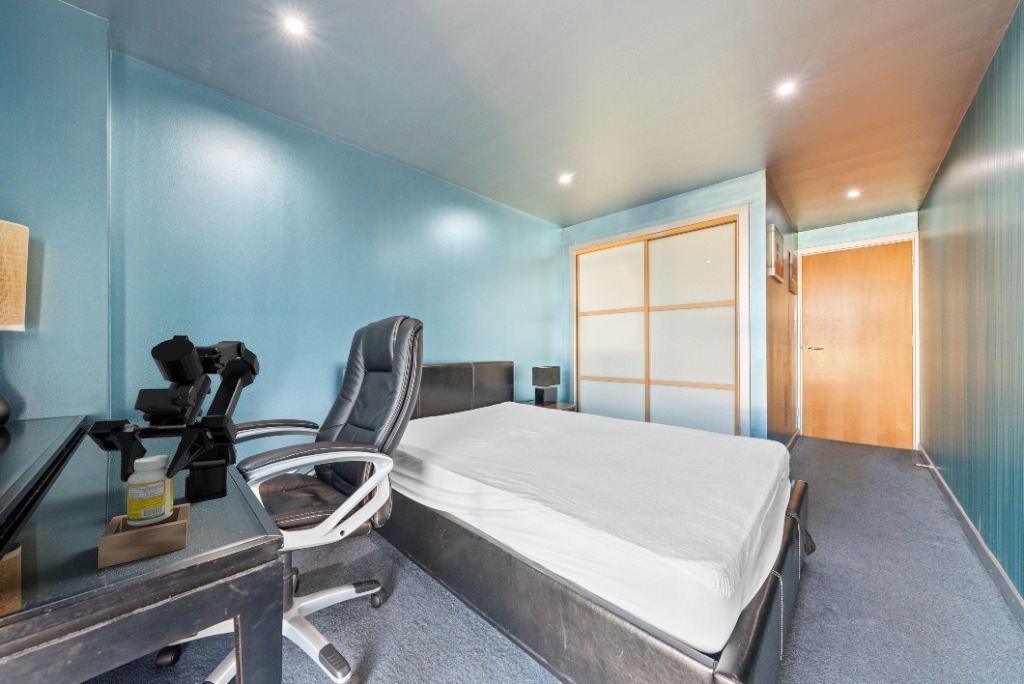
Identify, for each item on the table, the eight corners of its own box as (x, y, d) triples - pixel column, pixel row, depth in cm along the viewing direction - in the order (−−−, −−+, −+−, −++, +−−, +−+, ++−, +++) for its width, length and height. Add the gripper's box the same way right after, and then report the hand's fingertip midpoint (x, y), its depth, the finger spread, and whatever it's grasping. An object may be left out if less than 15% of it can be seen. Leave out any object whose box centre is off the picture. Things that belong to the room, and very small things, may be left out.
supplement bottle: (151, 527, 58) (152, 463, 58) (116, 527, 58) (116, 463, 58) (182, 511, 63) (182, 453, 63) (150, 511, 63) (150, 453, 63)
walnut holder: (189, 525, 66) (190, 502, 67) (185, 547, 59) (186, 521, 59) (112, 542, 61) (113, 516, 61) (97, 568, 53) (98, 539, 53)
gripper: (96, 370, 61) (34, 457, 51) (232, 369, 67) (201, 447, 57) (127, 411, 69) (78, 494, 58) (247, 407, 75) (222, 482, 64)
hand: (146, 479), depth 59 cm, fingers closed on supplement bottle, 5 cm apart
